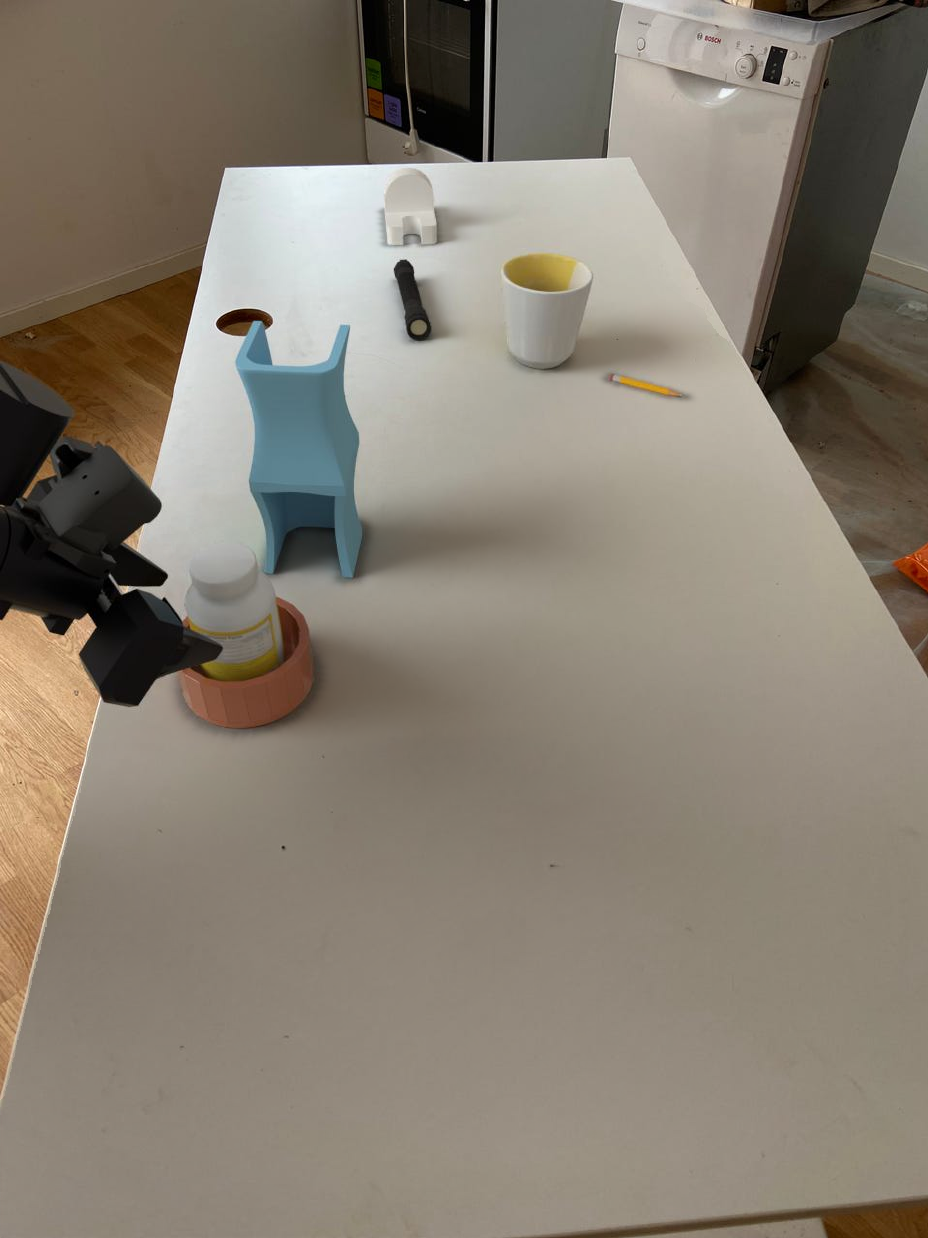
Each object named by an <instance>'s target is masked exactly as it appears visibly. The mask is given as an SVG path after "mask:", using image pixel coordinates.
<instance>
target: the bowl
mask: <svg viewBox="0 0 928 1238" xmlns="http://www.w3.org/2000/svg"><path fill="white" fill-rule="evenodd" d="M276 600H277V606H278V612H279V618H280V624H281V630H282V636H283V643H284V650H285V655H286V662H285V663H283V664H282V665H281V666H280V667H279V668H277V669H276V670H274V671H272V672H270V673H268V674H266V675H264V676H261V677H257V678H253V679H249V680H245V681H227V682H223V681H218V680H214V679H209V678H206V677H204V676H203V675H202V671H201V667H200V665H197V666H194V667H191V668H187V669H184V670H181V671H178V672H176V674H177V678H178V681H179V686H180V689H181V692H182V695H183V698H184V701H185V703H186V704H187V706H188V707H189V709H190V710H191V711H192V712H193V713H194V714H195V715H196V716H197V717H198V718H201V719H202V720H204V721H205V722H207V723H209V724H213V725H216V726H217V727H218V726H219V727H224V728H232V729H246V728H256V727H259V726H260V727H261V726H263V725H267V724H270V723H272V722H275V721H278V720H280V719H281V718H284V717H285V716H287V715H288V714H290V713H292V711H294V710H295V709H297V708H298V706H299V705H301V704H302V702H304V700H305V699H306V697H307V696H308V694H309V693H310V690H311V689H312V686H313V683H314V677H315V669H314V666H315V663H314V656H313V649H312V641H311V635H310V634H311V633H310V628H309V626H308V622H307V620H306V617H305V616H304V615H303V613H302V612H301V611H300V610H299V609H298V608H297V607H296V606H295V605H294V604H292V603H290V602H289V601H287V600H284V599H283V598H280V597H279V596H276ZM182 622H183V626H185V627H187V628H189V629H191V628H190V624H189V621H188V617H187V616H185V618H184V619H183V620H182Z"/></svg>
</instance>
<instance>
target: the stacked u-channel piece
mask: <svg viewBox="0 0 928 1238" xmlns="http://www.w3.org/2000/svg"><path fill="white" fill-rule="evenodd" d="M350 330H351V324H340V325H339V326H338V330H337V333H336V336H335V339H334V342H333V345H332V348H331V351H330V354H329V357H328V359H327V360H325V361H323V362H320V363H316V364H311V365H295V366H294V365H276V364H275V365H274V364H273V359H272V356H271V351H270V346H269V340H268V336H267V333H266V332H267V331H266V329H265V325H264V322H263V321H262V320H253V321H252V324H251V325H250V327H249V330H248V331H247V333H246V336H245V337H244V340H243V342H242V344H241V347H240V349H239V350H238V353H237V355H236V358H235V360H234V365H235V368H236V371H237V374H238V375H239V378H240V380H241V382H242V385H243V387H244V390H245V392H246V396H247V399H248V401H249V402H248V403H249V405H250V409H251V413H252V418H253V423H254V442H253V443H254V445H253V453H252V459H251V460H252V461H251V466H250V471H249V477H248V486H249V492H250V493H251V496H252V497H253V499H254V502H255V504H256V506H257V509H258V511H259V513H260V516H261V519H262V523H263V527H264V533H265V541H266V542H265V544H266V545H265V550H266V551H265V563H264V564H265V565H264V574H265V575H266V574H268V575H273V574H274V573H275V570H276V567H277V564H278V560H279V557H280V554H281V550H282V547H283V544H284V542H285V538H286V536H287V534H288V533H289V532H291V531H293V530H295V529H297V528H304V527H306V528H329V529H334V532H335V533H334V534H335V542H336V548H337V555H338V560H339V565H340V569H341V575H342V578H343V579H353V578H354V574H355V570H356V565H357V562H358V557H359V553H360V548H361V543H362V538H363V527H362V523H361V520H360V518H359V517H360V516H359V514H358V509H357V504H356V499H355V474H356V466H357V458H358V452H359V447H360V432H359V430H358V428H357V426H356V424H355V421H354V420H353V418H352V414H351V413H350V410H349V406H348V404H347V399H346V392H345V364H346V355H347V350H348V349H347V348H348V342H349V337H350Z"/></svg>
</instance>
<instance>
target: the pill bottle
mask: <svg viewBox="0 0 928 1238" xmlns="http://www.w3.org/2000/svg"><path fill="white" fill-rule="evenodd" d="M188 563H189V564H188V571H189V574H190V579H191V584H190V585H189V586H188V589H187V591H186V594H185V598H184V607H185V613H186V617H188V621H189V624H190V628H191V630H193V631H196V632H198V633H200V634H202V635H204V636H206V637H208V638H210V639H212V640H214V641H216V642H217V643H219V644H221V645H222V647H223V650H222V652H221V653H220V655H219V656H218V658H217V659H216V660H213V661H210V662H207V663H204V664H200V667H201V671H202V675H203V676H204V677H206V678H209V679H214V680H218V681H223V682H227V681H245V680H249V679H253V678H257V677H261V676H264V675H266V674H268V673H270V672H272V671H274V670H276V669H277V668H279V667H280V666H281V665H282V664H283V663H285V662H286V655H285V650H284V643H283V636H282V630H281V624H280V618H279V612H278V606H277V600H276V597H277V595H276V590H275V586H274V585H273V582H272V581H271V579H270V578H269V577H268V576H267V575H266V574H265V572H263V571H261V570H260V568H259V564H258V560H257V555H256V553H255V552H254V551H253V549H252V548H251V547H250V546H248V545H247V544H244V543H242V542H239V541H233V540H223V541H222V540H221V541H216V542H212V543H209V544H207V545H205V546H203V547H201V548H200V549H198V550H197V551H196V552H195V553H194V554H193V555H192V557H191V558H190V559H189V562H188Z"/></svg>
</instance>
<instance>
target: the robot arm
mask: <svg viewBox="0 0 928 1238" xmlns="http://www.w3.org/2000/svg"><path fill="white" fill-rule="evenodd" d="M74 414H75V413H74V410H73V408H72V407H71V406H70V405H69V403H68V402H67V401H65V400H64V398H63V397H61V396H60V395H59V394H57V393H56V391H54V390H52V389H51V388H50V387H48V386H47V385H46V384H44V383H43V382H41V381H40V380H38V379H36V378H34V377H33V376H32V375H30V374H28V373H26V372H24V371H23V370H21V369H19V368H18V367H15V366H14V365H11V364H10V363H7V362H6V361H3V360H1V359H0V621H4V619H5V617H6V616H7V614H8V613H9V611H10V610H13V611H16V612H21V613H24V614H29V615H32V616H35V617H39V618H40V619H41V621H42V623H43V624H44V626H45V627H46V629H47V631H48V633H50V634H54V635H59V636H62V637H64V636H65V635H66V634H67V632H68V631H69V629H70V627H71V625H72V624H73V622H74V621H75V620H76V621H80V620H82V619H83V618H85V617H86V616H87V615H88V616H89V618H90V620H91V621H92V622H93V624H94V626H95V628H94V630H93V631H92V633H91V634H90V635H89V637H88V639H87V640H86V642H85V644H84V645H83V647H82V648H81V649H80V651H79V652H78V657H79V659H80V663H81V665H82V667H83V670H84V672H85V673H86V675H87V677H88V678H89V680H90V682H91V684H92V685H93V687H94V688H95V690H96V692H97V693H98V695H99V696H100V698H101V700H102V702H103V703H106V704H110V705H115V706H121V707H126V708H134V707H139V705H140V704H141V702H142V701H143V700H144V698H145V696H146V695H147V694H148V692H149V691H150V689H151V688H152V686H153V684H154V683H155V682H156V681H157V680H158V679H161V678H163V677H165V676H168V675H172V674H174V673H177V672H178V671H181V670H184V669H187V668H191V667H194V666H197V665H200V664H204V663H207V662H210V661H213V660H216V659H217V658H218V656H219V655H220V653H221V652H222V650H223V647H222V645H221V644H219V643H217V642H216V641H214V640H212V639H210V638H208V637H206V636H204V635H202V634H200V633H198V632H196V631H193V630H191V629H189V628H187V627H185V626H183V620H182V618H181V616H179V614H178V613H177V611H176V610H175V608H174V607H173V605H172V604H171V603H170V602H169V600H168V598H167V597H166V596H163V597H162V599H161V598H159V597H158V596H157V595H155V594H153V593H152V592H149V591H146V590H142V589H140V588H151V587H152V588H153V587H154V588H156V587H163V586H164V584H165V582H166V581H167V579H168V578H169V574H168V572H167V571H165V570H164V569H163V568H162V567H160V566H159V565H157V564H155V563H154V562H153V561H151V560H150V559H149V558H148V557H146V556H145V555H143V554H142V553H140V552H138V551H137V550H136V549H135V548H133V547H131V546H130V545H128V544H127V543H126V542H125V541H126V540H127V539H128V538H130V537H131V536H132V535H133V534H135V532H136V531H138V530H139V529H140V528H141V527H143V526H144V525H145V524H150V523H152V522H153V521H154V520H155V519H157V517H158V516H159V514H160V513H161V510H162V507H163V503H162V501H161V500H160V498H159V497H158V495H157V494H155V492H154V491H153V490H152V488H151V487H150V486H149V485H148V484H147V482H146V481H145V480H144V478H143V477H142V476H141V475H140V474H139V473H138V472H136V470H135V469H134V468H133V467H132V466H131V465H130V464H129V463H128V462H127V461H126V460H125V459H124V458H123V456H121V455H120V454H119V453H118V452H117V451H116V450H115V448H114V447H112V446H111V445H108V444H105V445H104V444H103V443H102V442H100V441H99V440H97V441H96V442H94V443H93V444H92V443H90V442H88V441H84V440H81V439H78V438H74V437H70V436H67V435H65V436H62V434H63V433H64V431H65V430H66V428H67V426H69V425H68V424H69V423H70V421H71V420H72V418H73V417H74ZM61 436H62V437H61ZM48 457H49V458H50V463H51V465H52V469H53V471H54V474H55V475H52V476H49V477H45V478H42V479H39V480H37V481H36V482H35V484H34V485H33V487H32V489H31V490H30V491H29V494H27V495H28V496H27V497H24V495H25V494H26V492H27V491H28V489H29V488H30V486H31V484H32V483H33V482H34V479H35V478H36V476H37V475H38V474H39V471H40V470H41V468H42V467H43V465H44V463H45V462H46V460H47V458H48ZM121 587H133V588H134V587H136V588H135V589H132V590H130V591H128V592H125V593H124V591H123V590H122V588H121Z"/></svg>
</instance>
